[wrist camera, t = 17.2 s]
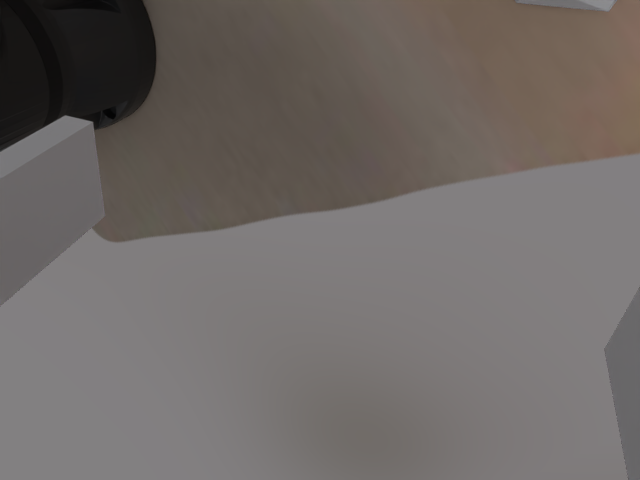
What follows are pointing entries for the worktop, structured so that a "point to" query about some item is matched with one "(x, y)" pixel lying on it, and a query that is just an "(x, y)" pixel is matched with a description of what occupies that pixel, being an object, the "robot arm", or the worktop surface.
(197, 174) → the worktop surface
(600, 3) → the die
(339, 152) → the worktop surface
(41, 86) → the robot arm
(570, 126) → the worktop surface
